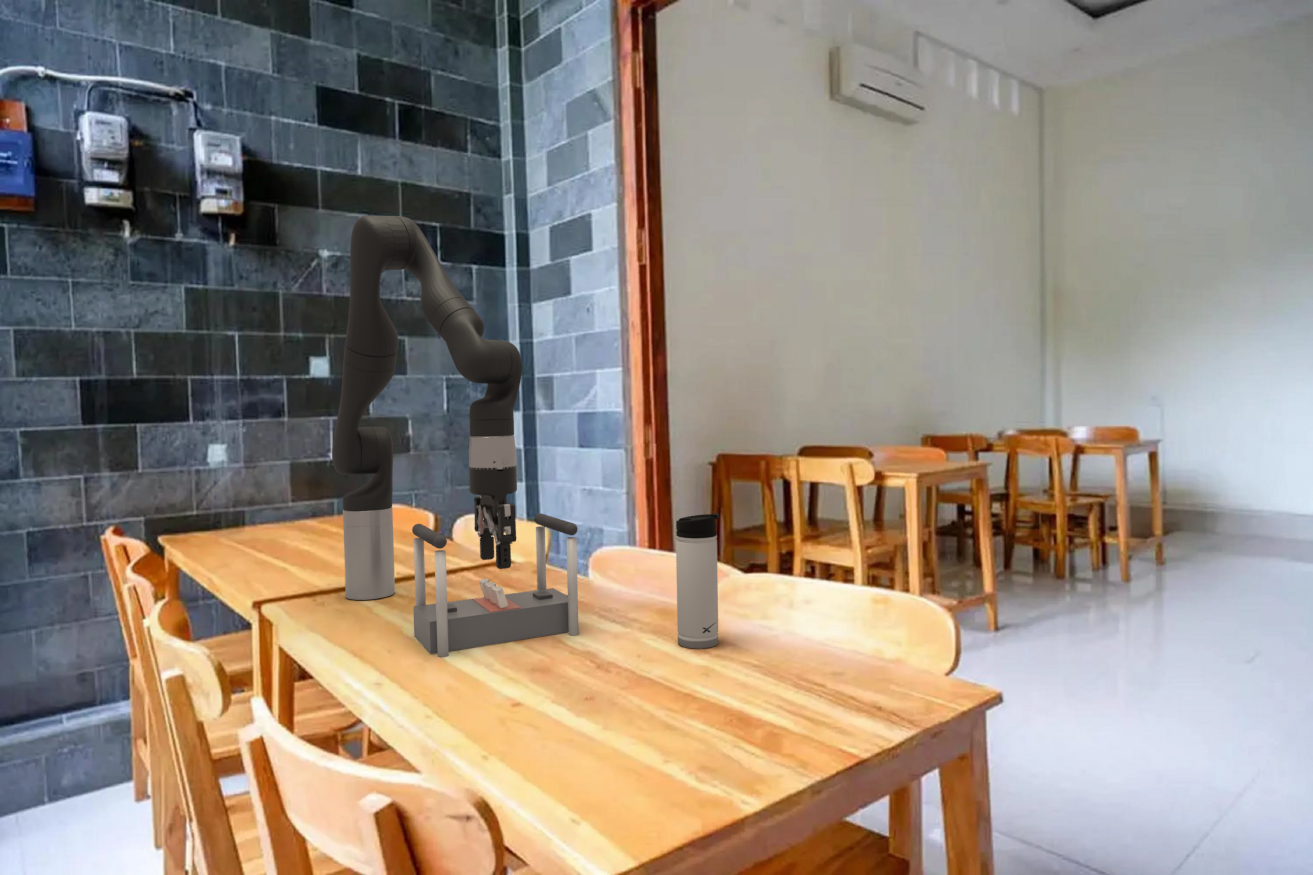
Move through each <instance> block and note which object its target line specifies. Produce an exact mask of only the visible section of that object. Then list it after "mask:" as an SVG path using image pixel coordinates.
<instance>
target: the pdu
mask: <svg viewBox="0 0 1313 875" xmlns="http://www.w3.org/2000/svg"><path fill="white" fill-rule="evenodd" d="M577 543H578V542H577V536H569V537H566V570H567V571H566V573H567V575H566V576H567V577H566V580H567V594H566V593H563V592H561V591H559V590H558V589H555V588H553V587H550V588H547V563H546V562H547V560H546V556H547V555H546V554H547V553H546V527H544V526H541V525H539V526H535V546H536V547H535V548H536V550H535V553H536V554H535V555H536V583H537V584H536V587H537V588H536V590H528V591H521V592H513V593H504V594H505V597H506V601H507V604H508V606H506V607H504V608H499V607H498V606H497V604H496V603H495V604H493V603H492V602H490V599H488V600H487V599H486V598H484V596H483V597H476V598H475V597H474V598H468V599H460V600H455V601H454V600H451V601H448V590H447V589H448V586H447V584H448V582H447V554H446V553H447V551H446V550H444V549H441V550H440V549H439V550H435V551H434V572H435V573H434V578H435V579H434V580H435V584H434V585H435V603H429V604H427V603H426V600H427V599H426V598H427V597H426V596H427V595H426V566H425V564H426V563H425V562H426V561H425V541H424V540H422V539H421V538H419V537H414V538H413V560H414V562H413V563H414V594H415V595H414V596H415V599H414V600H415V605H414V606H413V609H412V610H413V611H412V612H413V635H414V638H415V640H417V641H418V642H419V643H420V645H421V646H422V647H423V648H424V649H425V650H426V651H427V652H428V653H429V654H430V655H433V654H437V657H439V658H445V657H448V656H449V652H452V651H453V652H454V651H459V650H465V649H473V648H478V647H484V646H490V645H491V646H492V645H496V644H503V643H504V644H505V643H509V642H517V641H521V640H522V641H523V640H527V639H534V638H539V637H547V636H552V635H558V634H566V633H568V636H578V635H579V632H580V631H579V598H578V596H579V594H578V590H579V588H578V587H579V586H578V585H579V584H578V583H579V582H578V548H577V546H578V544H577Z"/></svg>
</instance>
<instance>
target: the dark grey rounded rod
mask: <svg viewBox="0 0 1313 875" xmlns="http://www.w3.org/2000/svg"><path fill="white" fill-rule="evenodd" d="M411 531H412V534H413V535H414V536H416V538H421V539H422V540H424V542H426V543H427V544H429V545H430V546H433V547H434V548H436V549H439V550H440V549H441V550H442V549H444V548H445V547H446V546H447V543H448V541H447V540H448V539H447V538H446V536H444V535H443V534H441V533H439V532H437V531H435V530H433V529H431V528H430V527H428V526H426V525H423V523H415V524H414V525H413V526H412V529H411Z"/></svg>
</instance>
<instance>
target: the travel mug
mask: <svg viewBox="0 0 1313 875" xmlns="http://www.w3.org/2000/svg"><path fill="white" fill-rule="evenodd" d="M719 518H720V514H719V512H713V513H709V514H705V513H704V514H696V515H689V516H688V515H687V516H685V517H683V516H682V517H680V518H678V520H676V524H675V525H676V526H675V527H676V528H675V529H676V532H675V539H676V540H675V548H676V549H675V557H676V558H675V559H676V560H675V562H676V564H675V565H676V601H677V602H676V610H677V611H676V614H677V615H676V616H677V617H676V618H677V619H676V620H677V623H676V624H677V626H676V627H677V628H676V630H677V643H678V645H680V646H681V647H683V648H687V649H693V650H694V649H696V650H700V649H701V650H703V649H704V650H705V649H709V648H713V647H715V646H716V645H718V644H719V595H718V593H719V592H718V591H719V588H718V587H719V586H718V585H719V584H718V583H719V582H718V579H719V578H718V539H717V538H718V535H717V522H716V521H717V520H719Z"/></svg>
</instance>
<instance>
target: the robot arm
mask: <svg viewBox="0 0 1313 875" xmlns="http://www.w3.org/2000/svg"><path fill="white" fill-rule="evenodd" d="M349 247H350V252H349V253H350V254H349V256H350V260H349V261H350V265H349V266H350V268H349V269H350V271H349V272H350V274H349V277H350V278H349V279H350V281H349V284H350V285H349V287H350V288H349V289H350V290H349V303H348V304H349V307H348V318H347V319H348V320H347V328H346V336H345V342H344V350H343V351H344V352H343V364H342V377H341V378H342V380H341V381H342V382H341V389H340V390H341V392H340V401H339V407H338V412H337V417H336V424H335V428H334V432H333V439H332V440H333V441H332V448H331V449H332V450H331V459H332V465H333V467H334V470H335V471H336V472H337V473H338V474H339V475H345V476H346V475H347V476H355V475H371V476H370V477H371V478H370V479H369V481H368V482H367V483H365V484H364V485H362V486H361V487H360V488H357V489H355V490H353V491H350V492H348V493H346V494H344V495H343V497H342V521H343V522H342V523H343V551H344V552H343V553H344V583H345V585H344V586H345V587H344V588H345V597H346V599H349V600H357V601H364V600H377V599H382V598H383V599H384V598H387V597H390V596H393V595H394V594H395V592H396V590H395V588H396V587H395V586H396V584H395V550H394V548H395V545H394V521H393V520H394V519H393V518H394V517H393V513H394V512H393V489H394V487H393V486H394V484H393V475H394V474H393V468H394V467H393V465H394V443H393V438H392V434H391V432H390V431H389V429H388V428H386V426H385V427H384V426H359V425H360V422H361V420H362V418H363V415H364V414H365V412H366V410H367V409H368V407H369V406H370V405H371V404H372V403H373V401H375V399H376V398H377V397H378V396H379V395H380V394H381V392H383V391H384V390H385V388H386V387H387V386H388V385H389V383H390V382H391V380H392V378H393V377H394V376H395V372H396V366H397V360H398V352H399V342H400V341H399V336H398V332H397V331H396V328H395V326H394V324H393V321H392V320H391V318H390V316H389V315H388V313H387V311H386V309H385V307H384V306H383V302H382V299H381V288H380V287H381V278H382V272H383V271H399V270H401V271H403V270H406V271H408V272H410V273H411V274H412V275H413V276H414V277H415V278H416V279H418V281H419V283H420V304H421V309H422V311H423V314H424V316H425V318H426V320H427V321H428V322H429V324H430V325H431V326H432V327H433V329H434V330H435V331H436V332H437V333H438V335H439V336H440V337H441V338H442V340H443V341H445V343H446V346H447V350H448V352H449V354H450V357H451V359H452V361H453V364H454V366H455V368H456V370H457V372H458V373H459V374H460V375H461V376H462V377H463V378H465V379H466V380H468V382H471V383H475V384H480V385H481V384H482V385H483V384H487V387H486V391H485V394H484V396H483V397H482V398H479V399H476V400H474V401H473V402H471V404H470V406H469V446H468V473H469V474H468V476H469V478H468V479H469V483H468V484H469V492H470V494H472V495H474V500H473V501H474V506H473V507H474V509H473V510H474V531H475V532H477V536H478V538H479V558H480V560H482V561H488V560H493V559H495V566H496V568H497V569H499V570H503V569H504V570H505V569H509V568H511V567H512V557H511V556H512V553H511V545H512V544H513V543H514V542H517V522H516V505H515V503H514V502H513V503H512V502H511V503H508V500H507V499H508V498H507V495H508V494H514V493H516V492H517V490H518V476H517V475H518V474H517V472H518V471H517V467H518V466H517V447H516V439H515V417H514V416H515V415H514V410H515V405H516V403H517V402H516V401H517V398H518V394H519V389H520V385H521V380H522V377H523V375H522V374H523V360H522V356H521V353H520V351H519V349H518V348H517V346H516V345H515V344H514V343H512V342H510V341H507V340H500V339H499V340H498V339H486V338H483V335H484V332H485V324H484V321H483V319H482V318H481V316H480V315H479V313H478V312H477V311H476V310H475V309H474V308H473V307H472V305H471V304H470V303H469V302H468V300H466V299H465V297H464V296H463V295H462V294H461V293H460V292H459V290H458V289H457V287H456V286H455V285H454V283H453V282H452V281H451V279H450V278H449V276H448V274H447V272H446V271H445V269H444V267H443V265H442V264H441V261H440V260H439V257H438V256H437V255H436V253H435V251H434V250H433V248H432V247H431V245H430V243H429V241H428V239H427V237H426V236H425V234H424V233H423V231H422V230H421V228H420V227H419V226H418V224H417V223H416V222H414V220H412V219H411V218H409V217H406V216H400V215H363V216H361V217H359V218H358V219H357V220H356V221H355V223H354V224H353V228H352V231H351V236H350V246H349Z"/></svg>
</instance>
